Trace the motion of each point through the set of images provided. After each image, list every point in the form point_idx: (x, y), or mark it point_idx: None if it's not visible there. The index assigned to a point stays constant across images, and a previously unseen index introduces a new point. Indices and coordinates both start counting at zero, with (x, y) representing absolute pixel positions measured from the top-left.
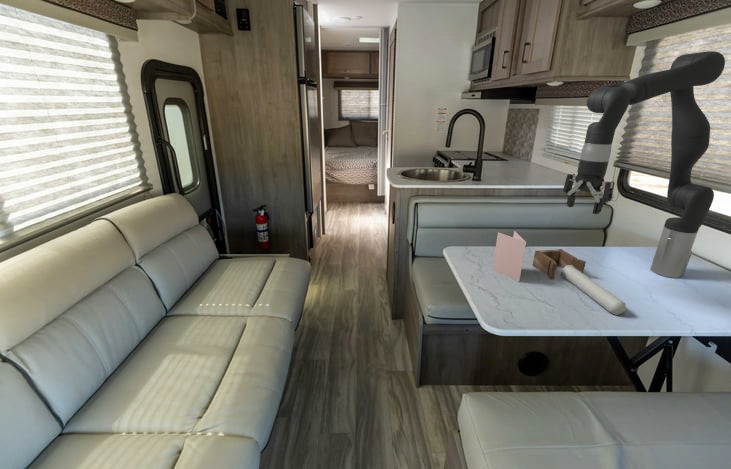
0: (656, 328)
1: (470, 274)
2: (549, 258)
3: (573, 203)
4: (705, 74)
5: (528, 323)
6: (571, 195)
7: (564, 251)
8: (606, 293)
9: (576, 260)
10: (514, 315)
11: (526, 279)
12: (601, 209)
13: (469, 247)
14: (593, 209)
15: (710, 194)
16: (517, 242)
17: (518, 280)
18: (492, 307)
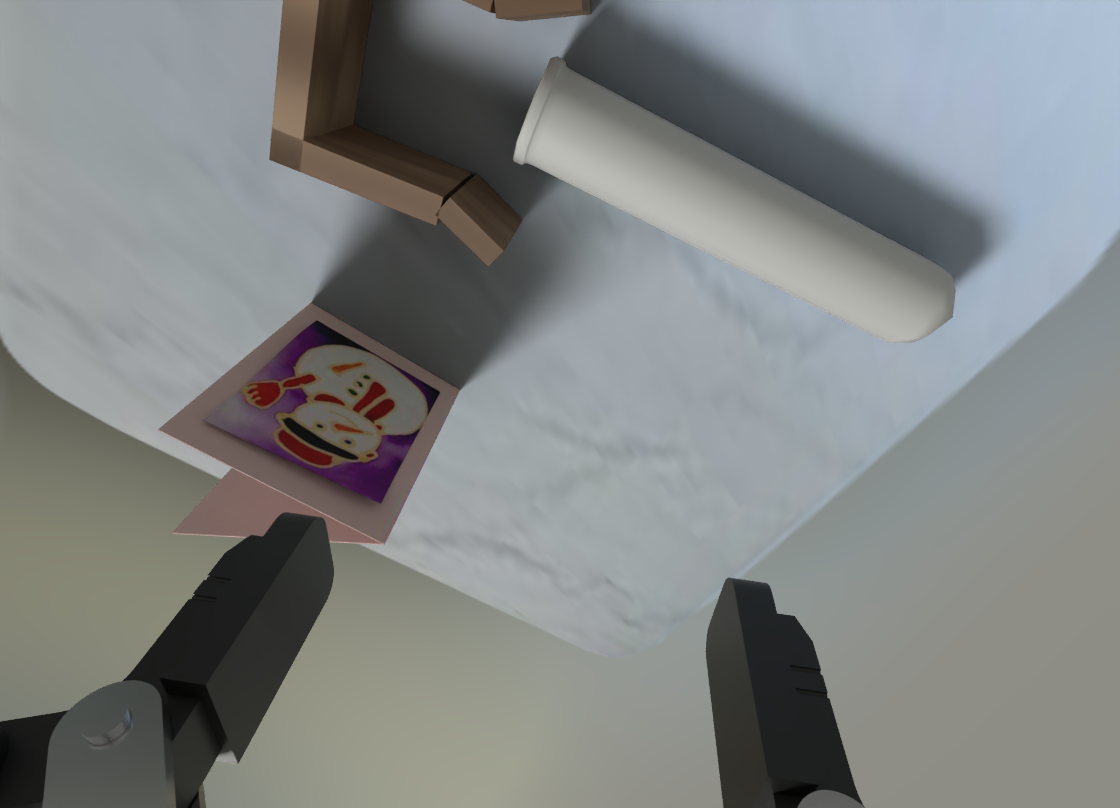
0: (1090, 263)
1: None
2: (413, 199)
3: (297, 561)
4: None
5: (681, 590)
6: (205, 758)
7: None
8: (852, 299)
9: (520, 16)
10: (626, 586)
11: (454, 339)
12: (819, 671)
13: (3, 265)
14: (715, 707)
15: None
16: (333, 524)
17: (453, 393)
18: (554, 597)
